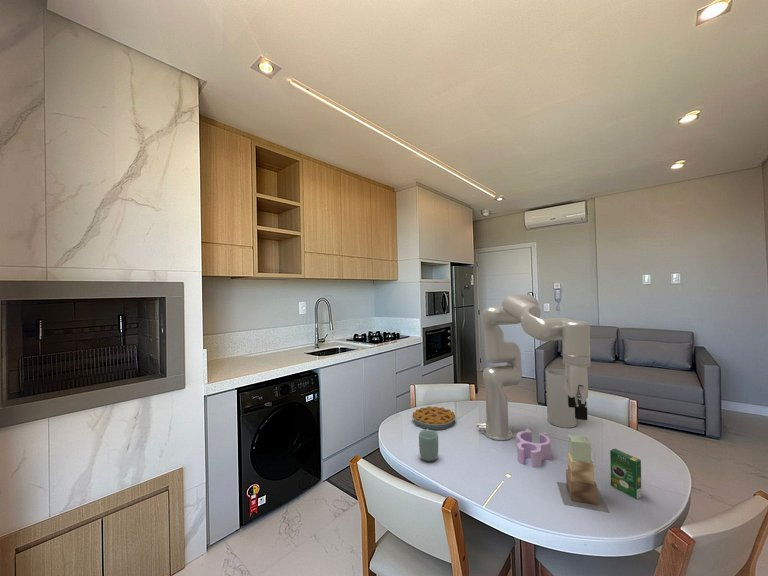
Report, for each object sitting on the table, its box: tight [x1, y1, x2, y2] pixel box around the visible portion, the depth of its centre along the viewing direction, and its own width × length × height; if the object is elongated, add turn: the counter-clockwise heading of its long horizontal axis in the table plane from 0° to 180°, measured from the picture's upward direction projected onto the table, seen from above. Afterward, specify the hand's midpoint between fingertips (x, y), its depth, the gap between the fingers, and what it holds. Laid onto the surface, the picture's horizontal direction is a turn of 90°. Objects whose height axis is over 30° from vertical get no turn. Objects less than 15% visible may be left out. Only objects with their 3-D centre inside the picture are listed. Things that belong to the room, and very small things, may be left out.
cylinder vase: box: [545, 369, 577, 429], centre depth 156 cm, size 12×12×25 cm
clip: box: [516, 428, 552, 469], centre depth 125 cm, size 20×12×7 cm, turn 145°
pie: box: [411, 406, 456, 431], centre depth 162 cm, size 22×22×5 cm
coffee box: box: [609, 448, 642, 500], centre depth 101 cm, size 8×3×13 cm, turn 22°
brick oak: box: [566, 451, 596, 484], centre depth 99 cm, size 6×6×6 cm
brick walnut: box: [565, 468, 598, 506], centre depth 99 cm, size 7×7×6 cm
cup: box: [418, 429, 439, 462], centre depth 126 cm, size 8×8×10 cm
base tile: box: [556, 481, 611, 514], centre depth 99 cm, size 12×12×1 cm
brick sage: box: [568, 434, 592, 463], centre depth 99 cm, size 5×5×6 cm
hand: (577, 413), depth 100 cm, fingers open, 9 cm apart
